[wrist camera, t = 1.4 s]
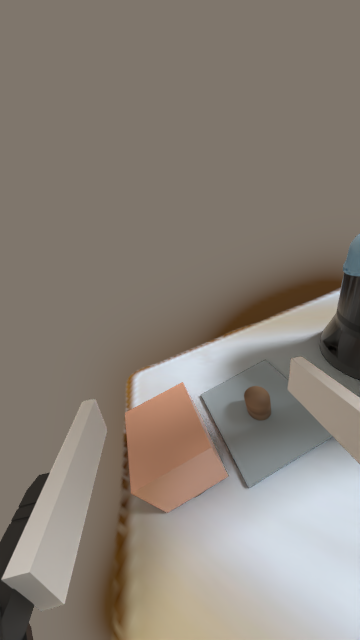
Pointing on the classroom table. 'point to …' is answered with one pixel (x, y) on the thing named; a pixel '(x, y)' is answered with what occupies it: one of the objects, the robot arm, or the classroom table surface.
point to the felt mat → (263, 423)
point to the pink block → (170, 450)
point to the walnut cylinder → (258, 403)
